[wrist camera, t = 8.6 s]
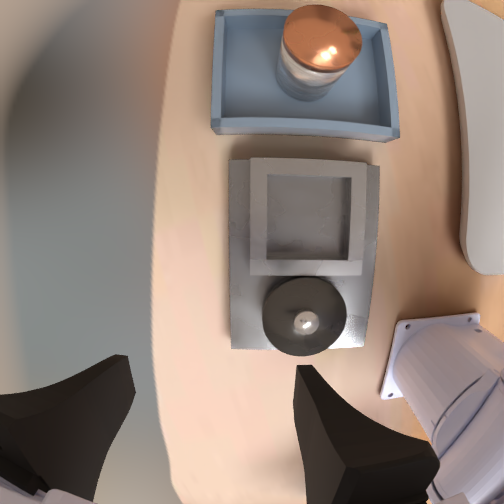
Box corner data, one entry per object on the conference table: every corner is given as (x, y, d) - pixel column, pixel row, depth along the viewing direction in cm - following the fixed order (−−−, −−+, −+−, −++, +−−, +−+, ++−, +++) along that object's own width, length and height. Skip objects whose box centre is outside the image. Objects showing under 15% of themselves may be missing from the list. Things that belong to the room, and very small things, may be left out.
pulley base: (373, 166, 20) (392, 163, 16) (359, 339, 22) (372, 360, 19) (230, 161, 20) (225, 156, 17) (232, 341, 22) (228, 364, 19)
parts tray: (375, 37, 17) (386, 24, 15) (385, 142, 19) (399, 137, 17) (220, 26, 18) (215, 10, 15) (216, 134, 19) (210, 127, 17)
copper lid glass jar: (331, 55, 17) (358, 11, 11) (333, 104, 18) (365, 72, 12) (275, 50, 17) (283, 1, 11) (275, 100, 18) (284, 62, 12)
